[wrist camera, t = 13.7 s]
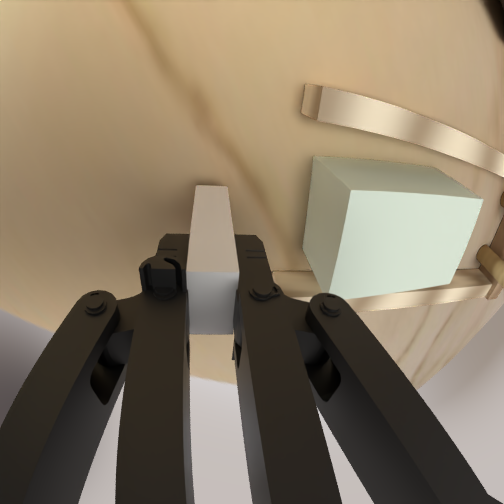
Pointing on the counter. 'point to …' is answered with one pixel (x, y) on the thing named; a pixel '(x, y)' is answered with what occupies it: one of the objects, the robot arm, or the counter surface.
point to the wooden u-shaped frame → (427, 135)
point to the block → (385, 226)
